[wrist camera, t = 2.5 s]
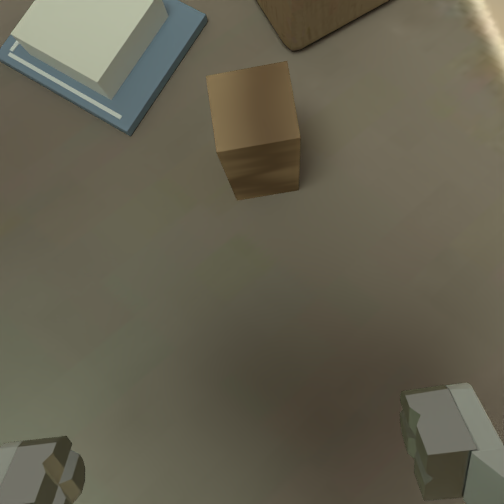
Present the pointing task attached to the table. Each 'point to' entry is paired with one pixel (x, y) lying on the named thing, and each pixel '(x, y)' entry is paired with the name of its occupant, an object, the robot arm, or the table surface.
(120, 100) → the board
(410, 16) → the table surface
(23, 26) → the foundation slab
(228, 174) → the walnut pillar
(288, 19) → the wooden block
